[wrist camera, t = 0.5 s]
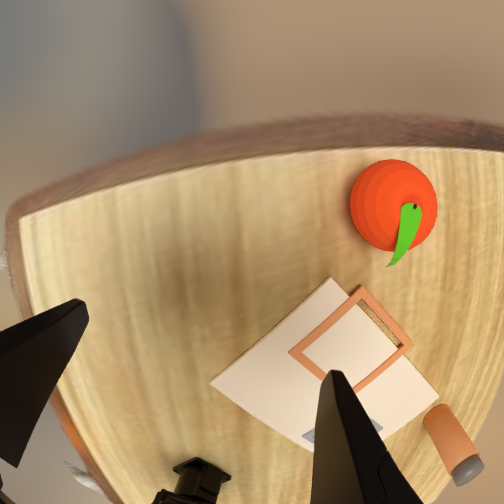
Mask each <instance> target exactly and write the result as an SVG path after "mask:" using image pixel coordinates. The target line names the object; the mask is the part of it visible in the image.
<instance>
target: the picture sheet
mask: <svg viewBox="0 0 504 504" xmlns="http://www.w3.org/2000/svg"><path fill="white" fill-rule="evenodd" d="M361 299H363V300H364V301H365V302H366V303H367V305H368V306H369V307H370V308H371V309H372V310H373V311H374V312H375V313H376V314H377V315H378V317H379V318H380V319H381V320H382V321H383V322H384V323H385V324H386V325H387V327H388V328H389V329H390V330H391V331H392V332H393V333H394V334H395V336H396V337H397V338H398V339H399V340H400V341H401V342H402V343H403V345H402V346H401V347H400V348H399V349H398V348H397V347H396V346H395V345H394V343H393V342H392V341H391V340H390V339H389V338H388V337H387V336H386V335H385V334H384V332H383V331H382V330H381V329H380V328H379V327H378V326H377V325H376V324H375V323H374V322H373V321H372V320H371V318H370V317H369V316H368V315H367V314H366V313H365V312H364V311H363V310H362V309H361V308H360V307H359V306H358V305H357V304H356V303H357V302H359V301H360V300H361ZM413 345H414V344H413V343H412V341H411V340H410V339H409V338H408V337H407V336H406V334H405V333H404V332H403V331H402V330H401V328H400V327H399V326H398V325H397V324H396V323H395V321H394V320H393V319H392V318H391V317H390V316H389V315H388V313H387V312H386V311H385V310H384V309H383V308H382V307H381V305H380V304H379V303H378V302H377V301H376V300H375V299H374V298H373V297H372V295H371V294H370V293H369V292H368V291H367V290H366V289H365V288H364V287H363V286H362V285H361V286H360V287H359V288H358V289H357V290H356V291H355V292H354V293H353V294H352V295H351V296H349V295H348V294H347V293H346V292H345V291H344V290H343V289H342V288H341V287H340V286H339V285H338V284H337V283H336V282H335V281H334V280H333V279H332V278H331V277H330V276H329V277H328V278H327V279H326V280H325V281H324V282H323V283H322V284H321V285H320V286H319V287H318V288H317V289H316V290H315V291H314V292H313V293H311V294H310V295H309V296H308V297H307V298H306V299H305V300H304V301H303V302H302V303H301V304H300V305H299V306H298V307H296V308H295V309H294V310H293V311H292V312H291V313H290V314H289V315H288V316H287V317H285V318H284V319H283V320H282V321H281V322H280V323H279V324H278V325H276V326H275V327H274V328H273V329H272V330H271V331H270V332H268V333H267V334H266V335H265V336H264V337H263V338H262V339H260V340H259V341H258V342H257V343H256V344H255V345H253V346H252V347H251V348H250V349H249V350H247V351H246V352H245V353H244V354H243V355H241V356H240V357H239V358H238V359H237V360H235V361H234V362H233V363H232V364H231V365H229V366H228V367H227V368H226V369H224V370H223V371H222V372H221V373H219V374H218V375H217V376H216V377H214V378H213V379H212V380H211V381H210V384H211V385H212V386H213V387H215V388H216V389H217V390H218V391H220V392H221V393H222V394H224V395H225V396H226V397H228V398H229V399H230V400H232V401H233V402H235V403H236V404H237V405H239V406H240V407H241V408H243V409H244V410H246V411H247V412H249V413H250V414H251V415H253V416H254V417H256V418H257V419H259V420H260V421H262V422H263V423H265V424H266V425H268V426H269V427H271V428H272V429H274V430H275V431H277V432H279V433H280V434H282V435H283V436H285V437H287V438H288V439H290V440H292V441H293V442H295V443H297V444H298V445H300V446H302V447H303V448H305V449H307V450H309V451H310V452H312V453H314V432H315V421H316V414H317V407H318V400H319V392H320V386H321V383H322V381H323V380H324V378H325V377H326V375H327V373H328V372H329V371H330V370H331V369H334V370H340V371H342V372H343V373H344V375H345V377H346V378H347V380H348V382H349V383H350V385H351V387H352V389H353V390H354V392H355V394H356V395H357V397H358V399H359V401H360V402H361V404H362V406H363V408H364V409H365V411H366V413H367V414H368V416H369V418H370V420H371V421H372V423H373V425H374V427H375V429H376V430H377V432H378V434H379V436H380V437H381V439H382V440H384V439H385V438H387V437H388V436H390V435H391V434H393V433H394V432H395V431H397V430H398V429H400V428H401V427H402V426H404V425H405V424H406V423H408V422H409V421H410V420H412V419H413V418H414V417H415V416H417V415H418V414H419V413H421V412H422V411H423V410H424V409H425V408H427V407H428V406H429V405H430V404H431V403H433V402H434V401H435V400H436V399H437V398H438V397H439V395H438V393H437V392H436V391H435V390H434V389H433V388H432V386H431V385H430V384H429V383H428V382H427V381H426V379H425V378H424V377H423V376H422V375H421V374H420V373H419V371H418V370H417V369H416V368H415V367H414V366H413V365H412V363H411V362H410V361H409V360H408V359H407V358H406V357H405V356H404V355H403V354H404V353H405V352H406V351H407V350H409V349H410V348H411V347H412V346H413Z"/></svg>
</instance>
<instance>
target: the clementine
mask: <svg viewBox="0 0 504 504" xmlns="http://www.w3.org/2000/svg"><path fill="white" fill-rule="evenodd" d="M350 211H351V216H352V220H353V222H354V224H355V226H356V228H357V230H358V231H359V232H360V234H361V235H362V236H363V237H364V239H365V240H366V241H368V242H369V243H370V244H372V245H373V246H374V247H376V248H379V249H382V250H384V251H392V252H394V256H393V258H392V260H391V262H390V264H388V265H387V266H386V267H388V266H391V265H394V264H395V263H396V262H397V261H399V260H400V259H401V258H402V256H403V255H404V254H405V253H406V251H407V250H410V249H412V248H414V247H415V246H417V245H419V244H420V243H422V242H423V241H424V240H425V239H426V238H427V237H428V235H429V234H430V232H431V230H432V229H433V227H434V224H435V221H436V217H437V199H436V194H435V191H434V189H433V186H432V184H431V182H430V181H429V179H428V178H427V177H426V175H425V174H423V173H422V172H421V171H420V170H419V169H418V168H417V167H415V166H414V165H412V164H410V163H408V162H406V161H401V160H395V159H390V160H383V161H378V162H376V163H374V164H372V165H370V166H369V167H368V168H367V169H366V170H364V171H363V172H362V173H361V174H360V175H359V177H358V178H357V180H356V182H355V183H354V185H353V188H352V192H351V195H350Z"/></svg>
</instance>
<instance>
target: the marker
mask: <svg viewBox="0 0 504 504" xmlns="http://www.w3.org/2000/svg"><path fill="white" fill-rule="evenodd" d="M423 424H424V425H425V427H426V429H427V431H428V433H429V435H430V437H431V439H432V441H433V443H434V444H435V446H436V448H437V450H438V452H439V454H440V456H441V458H442V460H443V462H444V464H445V466H446V468H447V471H448V473H449V475H450V476H452V478H453V480H454V482H455V484H456V486H457V487H458V486H462V485H464V484H466V483H468V482H469V481H471V480H472V479H473V478H475V477H476V476H477V475H478V474H479V473H480V472H481V471H482V470H483V469H484V464H483V462H482V461H481V459H480V457H479V453H478V451H477V450H476V448H475V446H474V445H473V443H472V442H471V440H470V438H469V437H468V435H467V434H466V432H465V431H464V429H463V428H462V426H461V425H460V423H459V422H458V420H457V419H456V417H455V416H454V414H453V413H452V411H451V410H450V408H449V407H448V405H446V404H441V405H438V406H436V407H434V408H433V409H432V410H430V411H429V412H428V413H427V415H426V416H425V418H424V420H423Z"/></svg>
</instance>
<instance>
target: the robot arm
mask: <svg viewBox="0 0 504 504" xmlns="http://www.w3.org/2000/svg"><path fill="white" fill-rule="evenodd" d="M88 322H89V315H88V311H87V307H86V304H85V302H84V301H82V300H80V299H77V298H75V299H72V300H70V301H68V302H65V303H63V304H61V305H58V306H56V307H54V308H52V309H49V310H47V311H45V312H42V313H40V314H38V315H36V316H33V317H31V318H29V319H27V320H24V321H22V322H20V323H18V324H16V325H14V326H11V327H9V328H7V329H5V330H3V331H0V458H2V459H3V460H5V461H6V462H7V463H9V464H11V465H12V466H14V467H15V468H17V467H18V465H19V463H20V460H21V458H22V455H23V453H24V450H25V448H26V446H27V443H28V441H29V439H30V437H31V434H32V431H33V430H34V427H35V425H36V423H37V421H38V419H39V417H40V414H41V413H42V411H43V408H44V407H45V405H46V403H47V401H48V399H49V397H50V395H51V393H52V391H53V389H54V388H55V386H56V384H57V382H58V380H59V378H60V377H61V375H62V373H63V371H64V369H65V368H66V366H67V364H68V362H69V361H70V359H71V357H72V355H73V354H74V352H75V350H76V347H77V345H78V343H79V341H80V339H81V337H82V335H83V333H84V331H85V328H86V326H87V324H88ZM173 471H174V472H176V473H177V474H179V475H180V477H179V479H178V482H177V485H176V487H175V490H174V493H173V492H169V491H166V490H165V489H162V490H161V492H157V495H156V497H155V499H154V501H153V502H152V503H151V504H216V501H217V497H218V495H219V491H220V487H221V483H224V482H227V481H229V480H231V476H229V475H227V474H226V473H224V472H222V471H220V470H218V469H216V468H215V467H213V466H211V465H209V464H208V463H206V462H204V461H203V460H201V459H199V458H194V459H192V460H189V461H187V462H185V463H183V464H180V465H178V466H176V467H174V468H173ZM2 486H3V482H2V479H1V475H0V504H15V503H14V502H13V501H12V500H11V499H10V498H8V497H7V496H6V495H5V494H4V493H3V492H2V491H1V488H2ZM310 504H424V503H423V502H422V501H421V499H420V498H419V497H418V495H417V494H416V493H415V491H414V490H413V488H412V487H411V486H410V484H409V483H408V482H407V480H406V479H405V477H404V476H403V474H402V473H401V472H400V470H399V469H398V467H397V465H396V463H395V462H394V460H393V458H392V457H391V455H390V453H389V451H387V448H386V446H385V444H384V443H383V441H382V439H381V437H380V436H379V434H378V432H377V430H376V429H375V427H374V425H373V423H372V421H371V420H370V418H369V416H368V414H367V413H366V411H365V409H364V408H363V406H362V404H361V402H360V401H359V399H358V397H357V395H356V394H355V392H354V390H353V389H352V387H351V385H350V383H349V382H348V380H347V378H346V377H345V375H344V373H343V372H342V371H340V370H334V369H331V370H330V371H329V372H328V373H327V375H326V377H325V378H324V380H323V381H322V383H321V386H320V392H319V400H318V407H317V414H316V421H315V432H314V457H313V475H312V489H311V501H310Z"/></svg>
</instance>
